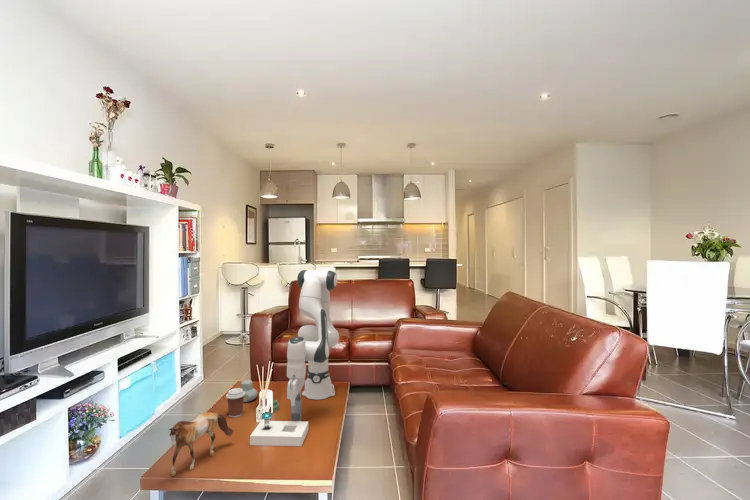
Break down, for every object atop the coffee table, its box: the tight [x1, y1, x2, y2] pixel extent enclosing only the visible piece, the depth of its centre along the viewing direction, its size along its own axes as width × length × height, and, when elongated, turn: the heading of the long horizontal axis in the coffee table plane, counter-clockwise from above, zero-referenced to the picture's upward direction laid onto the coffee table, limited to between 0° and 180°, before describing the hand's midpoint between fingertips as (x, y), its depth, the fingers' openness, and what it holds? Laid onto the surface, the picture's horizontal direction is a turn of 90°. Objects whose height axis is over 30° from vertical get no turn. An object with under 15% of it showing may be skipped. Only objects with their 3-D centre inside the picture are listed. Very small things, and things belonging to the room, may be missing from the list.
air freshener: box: [240, 379, 258, 403], centre depth 211 cm, size 11×8×10 cm
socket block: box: [249, 420, 309, 447], centre depth 170 cm, size 14×22×4 cm, turn 88°
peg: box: [290, 396, 303, 421], centre depth 183 cm, size 4×4×12 cm
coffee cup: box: [225, 387, 245, 418], centre depth 193 cm, size 9×9×12 cm
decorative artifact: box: [272, 398, 280, 414], centre depth 199 cm, size 10×7×10 cm
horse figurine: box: [169, 412, 236, 477], centre depth 152 cm, size 31×8×21 cm, turn 158°
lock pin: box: [261, 412, 273, 430], centre depth 170 cm, size 4×4×6 cm
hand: (295, 401), depth 182 cm, fingers open, 8 cm apart
